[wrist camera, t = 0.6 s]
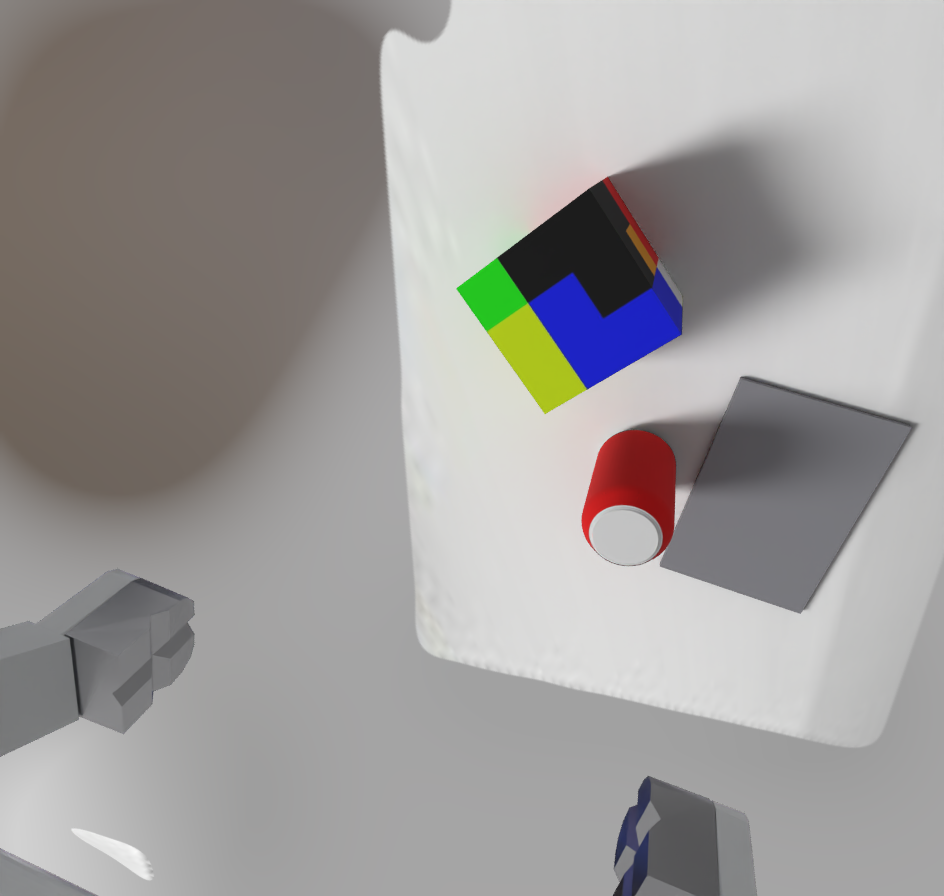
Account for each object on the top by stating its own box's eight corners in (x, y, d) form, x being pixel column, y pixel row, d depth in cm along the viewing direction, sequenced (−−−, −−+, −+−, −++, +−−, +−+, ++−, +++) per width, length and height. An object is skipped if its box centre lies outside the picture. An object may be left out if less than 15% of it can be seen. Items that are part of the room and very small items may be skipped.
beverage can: (595, 425, 53) (573, 497, 43) (674, 423, 51) (672, 497, 41) (601, 491, 56) (582, 574, 46) (677, 491, 54) (675, 578, 44)
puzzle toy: (682, 296, 47) (681, 334, 39) (568, 366, 52) (544, 414, 43) (607, 176, 45) (589, 188, 37) (495, 260, 50) (456, 288, 41)
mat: (740, 377, 48) (741, 379, 48) (909, 425, 47) (911, 427, 46) (660, 563, 57) (659, 566, 57) (799, 609, 55) (800, 613, 55)
